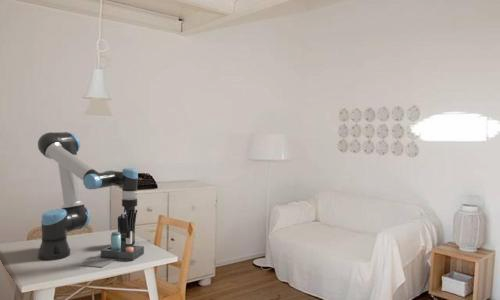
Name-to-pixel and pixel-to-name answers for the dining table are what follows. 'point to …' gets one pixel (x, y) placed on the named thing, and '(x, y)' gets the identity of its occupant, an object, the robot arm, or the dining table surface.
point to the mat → (97, 262)
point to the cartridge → (115, 240)
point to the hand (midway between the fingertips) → (128, 243)
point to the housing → (122, 253)
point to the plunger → (130, 249)
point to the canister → (124, 233)
